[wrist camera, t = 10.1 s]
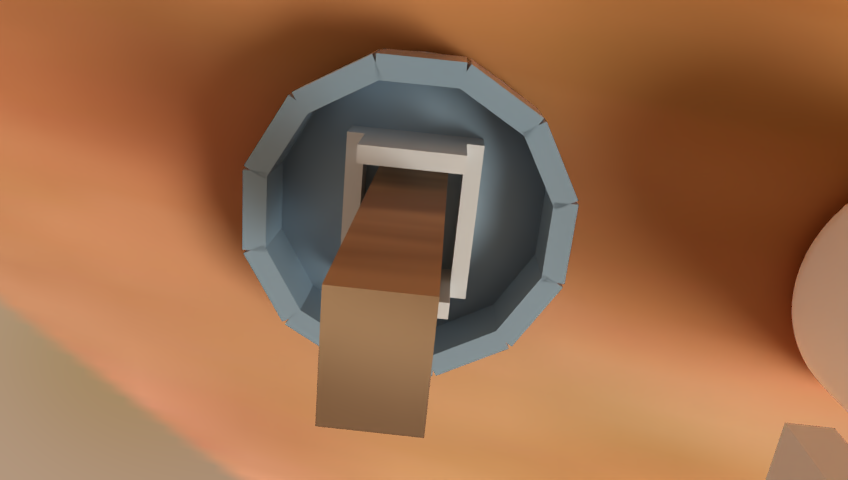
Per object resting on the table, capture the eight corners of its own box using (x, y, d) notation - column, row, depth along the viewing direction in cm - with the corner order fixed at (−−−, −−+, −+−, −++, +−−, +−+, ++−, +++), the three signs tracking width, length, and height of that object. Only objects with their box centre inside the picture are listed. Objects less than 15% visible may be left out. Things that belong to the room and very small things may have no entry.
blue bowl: (267, 34, 23) (235, 41, 20) (585, 67, 23) (607, 78, 20) (263, 320, 27) (234, 366, 24) (537, 350, 27) (548, 400, 24)
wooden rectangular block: (381, 162, 24) (322, 284, 14) (448, 169, 24) (439, 297, 14) (374, 251, 25) (315, 425, 15) (438, 258, 25) (424, 437, 15)
